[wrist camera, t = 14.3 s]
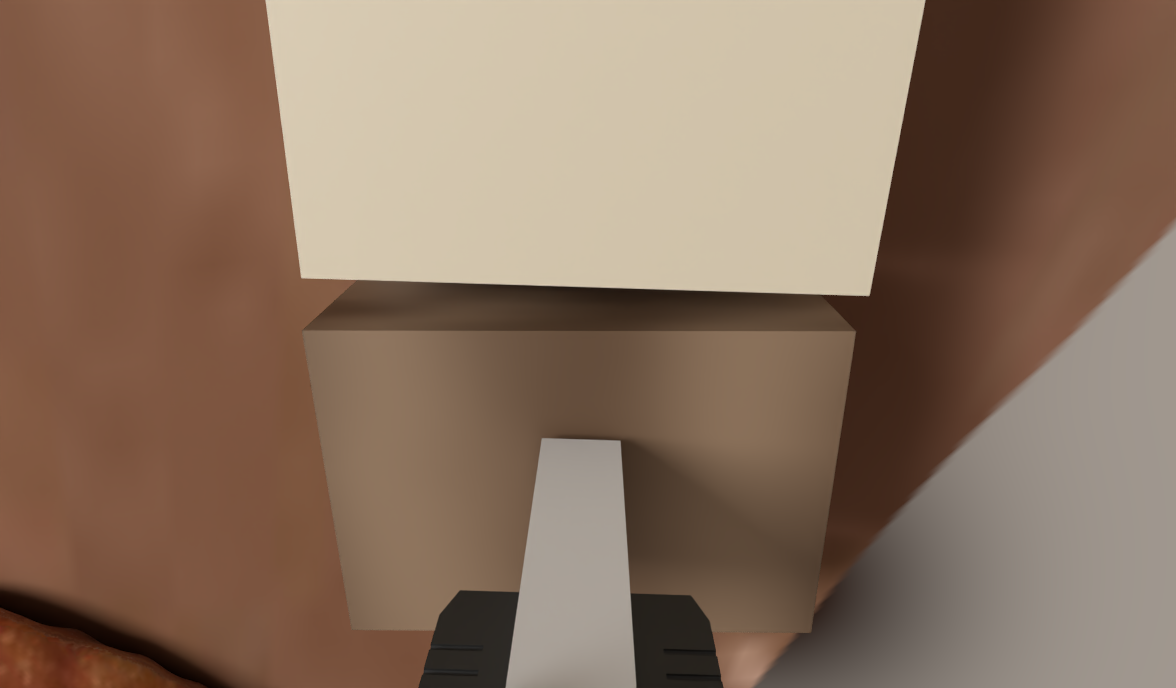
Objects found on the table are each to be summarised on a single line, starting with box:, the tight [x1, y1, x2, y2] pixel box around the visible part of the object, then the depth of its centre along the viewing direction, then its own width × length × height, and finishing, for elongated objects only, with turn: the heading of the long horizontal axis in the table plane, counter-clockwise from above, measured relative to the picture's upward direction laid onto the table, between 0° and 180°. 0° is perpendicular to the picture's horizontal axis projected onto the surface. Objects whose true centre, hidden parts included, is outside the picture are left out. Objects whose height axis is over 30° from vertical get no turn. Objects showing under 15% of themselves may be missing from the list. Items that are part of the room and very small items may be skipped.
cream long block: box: [266, 0, 925, 296], centre depth 14 cm, size 10×24×5 cm, turn 178°
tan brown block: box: [302, 280, 856, 633], centre depth 16 cm, size 10×7×4 cm
